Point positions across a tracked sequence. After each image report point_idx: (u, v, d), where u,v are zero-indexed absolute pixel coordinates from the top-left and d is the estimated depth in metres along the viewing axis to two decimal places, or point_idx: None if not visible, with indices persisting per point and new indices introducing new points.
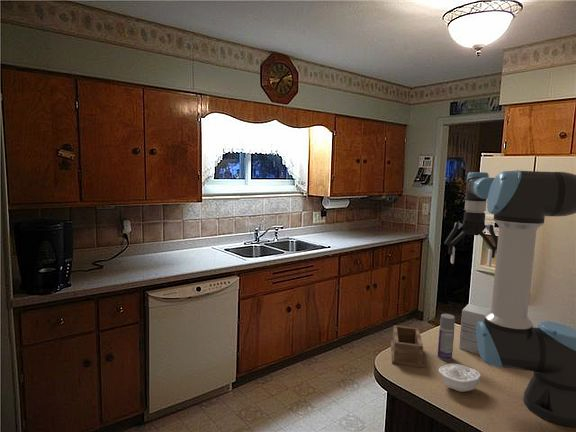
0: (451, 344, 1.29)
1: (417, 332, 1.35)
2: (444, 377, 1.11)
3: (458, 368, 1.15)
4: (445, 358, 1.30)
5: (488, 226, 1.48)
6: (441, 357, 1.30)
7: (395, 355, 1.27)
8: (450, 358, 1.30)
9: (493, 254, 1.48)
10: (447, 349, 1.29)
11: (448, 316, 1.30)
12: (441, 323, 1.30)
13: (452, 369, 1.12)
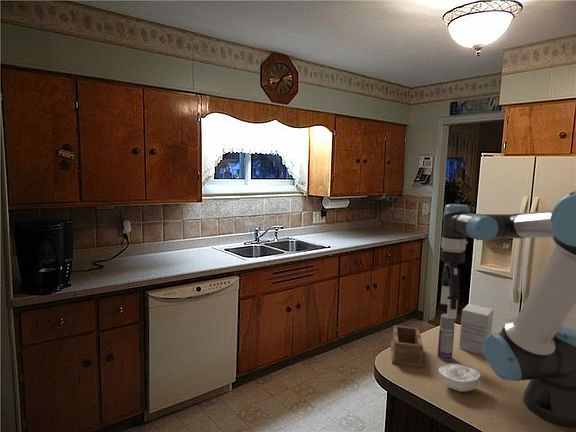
0: (451, 344, 1.29)
1: (417, 332, 1.35)
2: (444, 377, 1.11)
3: (458, 368, 1.15)
4: (445, 358, 1.30)
5: None
6: (441, 357, 1.30)
7: (395, 355, 1.27)
8: (450, 358, 1.30)
9: (451, 304, 1.22)
10: (447, 349, 1.29)
11: None
12: (441, 323, 1.30)
13: (452, 369, 1.12)
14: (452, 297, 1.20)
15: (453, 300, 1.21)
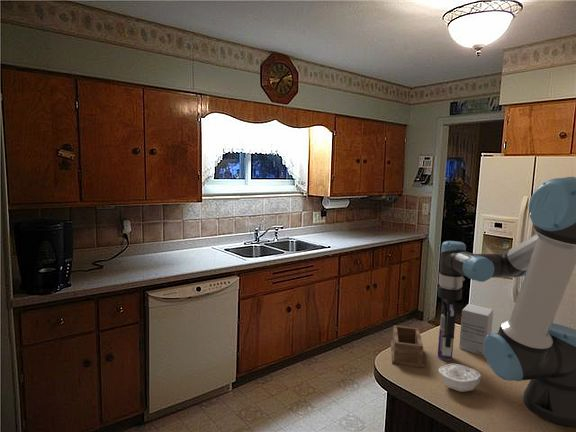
0: None
1: (417, 332, 1.35)
2: (444, 377, 1.11)
3: (458, 368, 1.15)
4: (445, 358, 1.30)
5: (450, 310, 1.25)
6: (441, 357, 1.30)
7: (395, 355, 1.27)
8: (450, 358, 1.30)
9: (445, 342, 1.28)
10: None
11: None
12: (441, 323, 1.30)
13: (452, 369, 1.12)
14: (447, 336, 1.25)
15: (448, 338, 1.27)
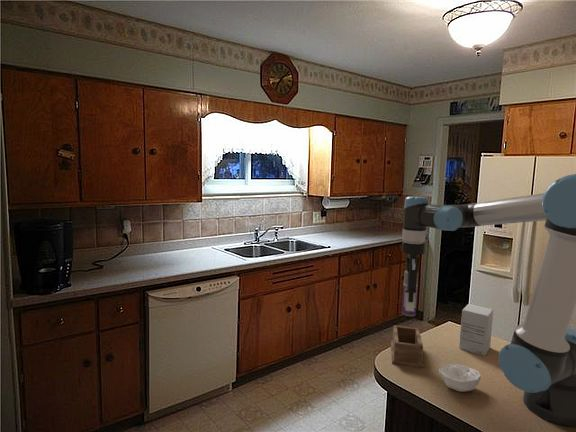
0: None
1: (417, 332, 1.35)
2: (444, 377, 1.11)
3: (458, 368, 1.15)
4: (408, 314, 1.30)
5: (412, 264, 1.25)
6: (405, 313, 1.30)
7: (395, 355, 1.27)
8: (413, 314, 1.30)
9: (408, 297, 1.28)
10: None
11: None
12: (404, 279, 1.30)
13: (452, 369, 1.12)
14: (409, 290, 1.25)
15: (410, 293, 1.27)
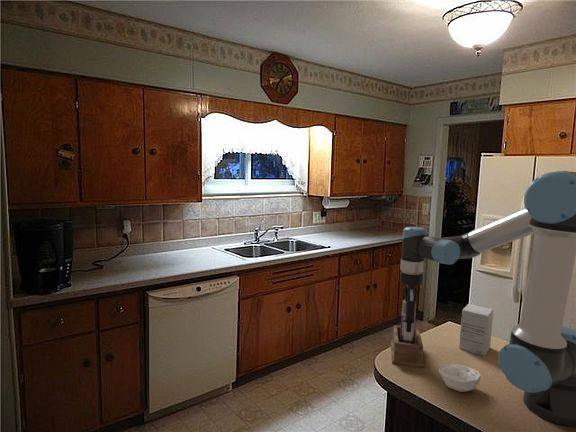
0: None
1: (417, 332, 1.35)
2: (444, 377, 1.11)
3: (458, 368, 1.15)
4: None
5: (410, 294, 1.26)
6: (403, 342, 1.32)
7: (395, 355, 1.27)
8: (411, 343, 1.31)
9: (406, 327, 1.29)
10: None
11: None
12: (403, 308, 1.31)
13: (452, 369, 1.12)
14: (407, 321, 1.26)
15: (408, 323, 1.28)
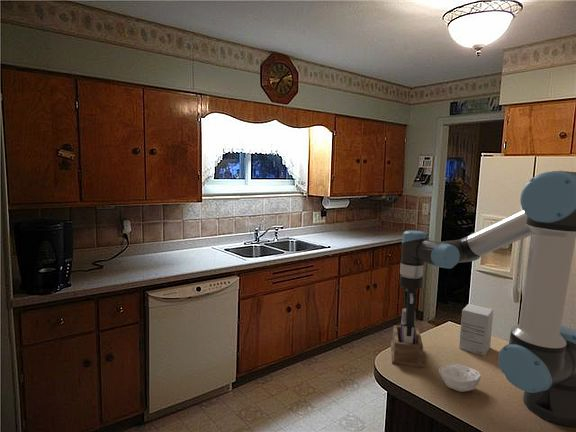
0: None
1: (417, 332, 1.35)
2: (444, 377, 1.11)
3: (458, 368, 1.15)
4: None
5: None
6: None
7: (395, 355, 1.27)
8: None
9: (406, 331, 1.27)
10: None
11: None
12: (402, 317, 1.32)
13: (452, 369, 1.12)
14: (407, 325, 1.25)
15: (408, 327, 1.26)
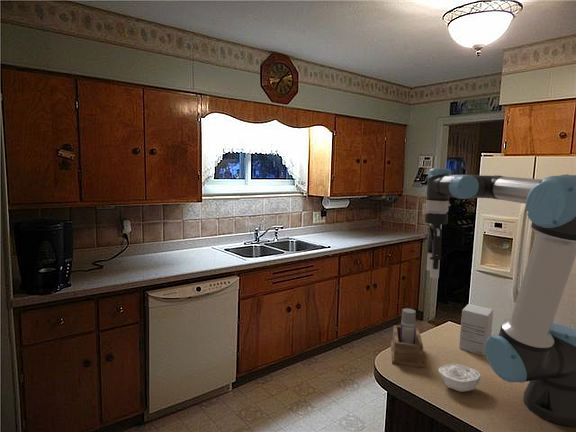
0: (412, 338, 1.31)
1: (417, 332, 1.35)
2: (444, 377, 1.11)
3: (458, 368, 1.15)
4: None
5: None
6: None
7: (395, 355, 1.27)
8: None
9: (433, 264, 1.30)
10: None
11: (409, 311, 1.31)
12: (402, 317, 1.31)
13: (452, 369, 1.12)
14: (434, 257, 1.28)
15: (435, 260, 1.29)
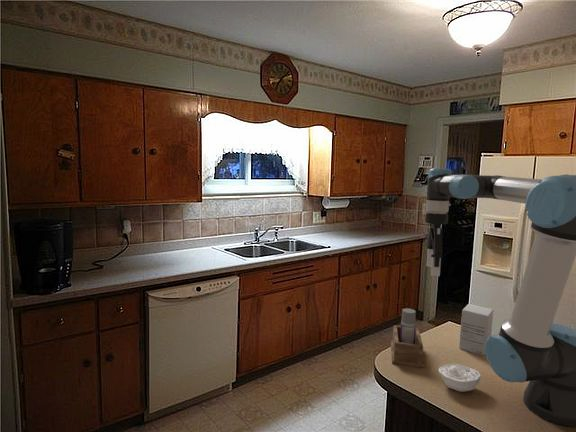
0: (412, 338, 1.31)
1: (417, 332, 1.35)
2: (444, 377, 1.11)
3: (458, 368, 1.15)
4: None
5: None
6: None
7: (395, 355, 1.27)
8: None
9: (434, 262, 1.29)
10: None
11: (409, 311, 1.31)
12: (402, 317, 1.31)
13: (452, 369, 1.12)
14: (435, 254, 1.26)
15: (436, 258, 1.28)
